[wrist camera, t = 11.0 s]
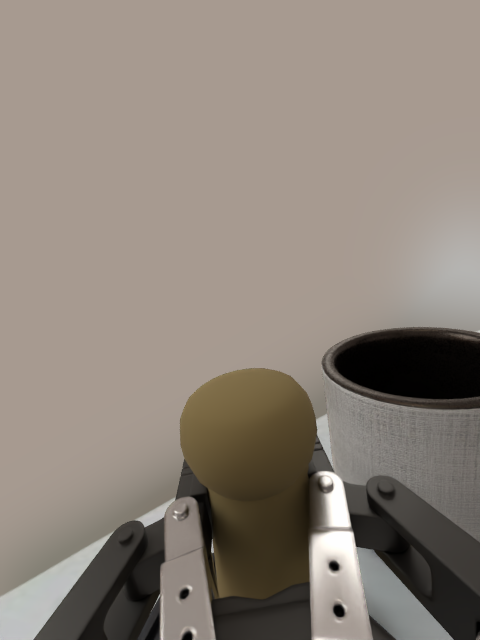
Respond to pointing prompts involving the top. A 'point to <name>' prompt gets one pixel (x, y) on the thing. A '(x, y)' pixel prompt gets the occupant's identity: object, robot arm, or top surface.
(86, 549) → the top surface
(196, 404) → the cork
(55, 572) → the top surface
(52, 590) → the top surface
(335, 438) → the planter
